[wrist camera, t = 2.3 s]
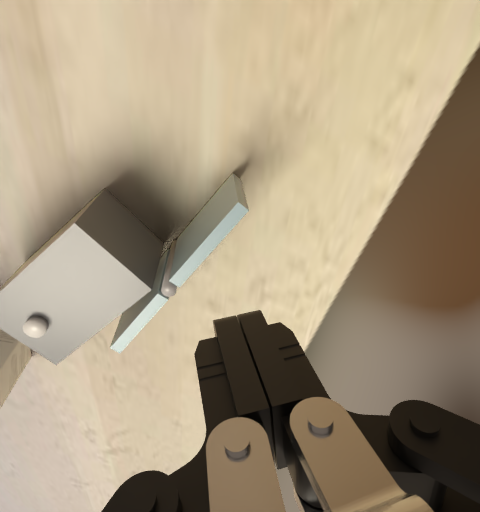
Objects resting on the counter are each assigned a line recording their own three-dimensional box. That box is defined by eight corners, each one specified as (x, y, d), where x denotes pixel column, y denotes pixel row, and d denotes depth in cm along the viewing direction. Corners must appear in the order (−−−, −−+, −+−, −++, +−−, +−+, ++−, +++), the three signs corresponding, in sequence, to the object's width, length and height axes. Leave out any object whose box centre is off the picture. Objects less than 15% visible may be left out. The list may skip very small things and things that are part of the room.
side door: (231, 171, 39) (237, 201, 31) (241, 179, 40) (249, 211, 31) (128, 294, 46) (108, 347, 37) (137, 299, 46) (120, 353, 38)
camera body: (105, 187, 39) (71, 226, 30) (164, 244, 43) (151, 295, 34) (11, 274, 44) (-45, 333, 34) (73, 319, 47) (38, 383, 38)
